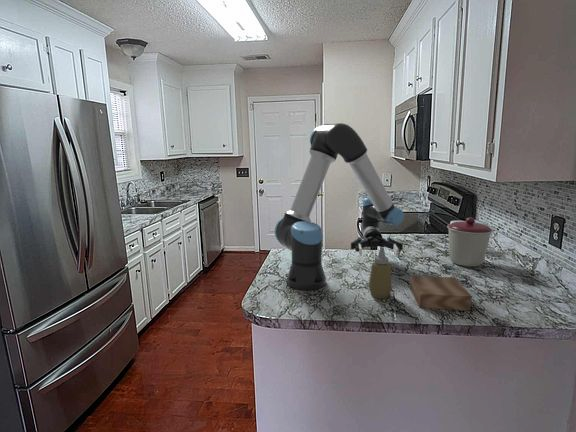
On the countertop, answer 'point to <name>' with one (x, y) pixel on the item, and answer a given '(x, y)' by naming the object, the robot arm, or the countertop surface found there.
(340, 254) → the countertop surface
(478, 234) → the canister
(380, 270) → the squeeze bottle
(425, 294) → the walnut plinth
